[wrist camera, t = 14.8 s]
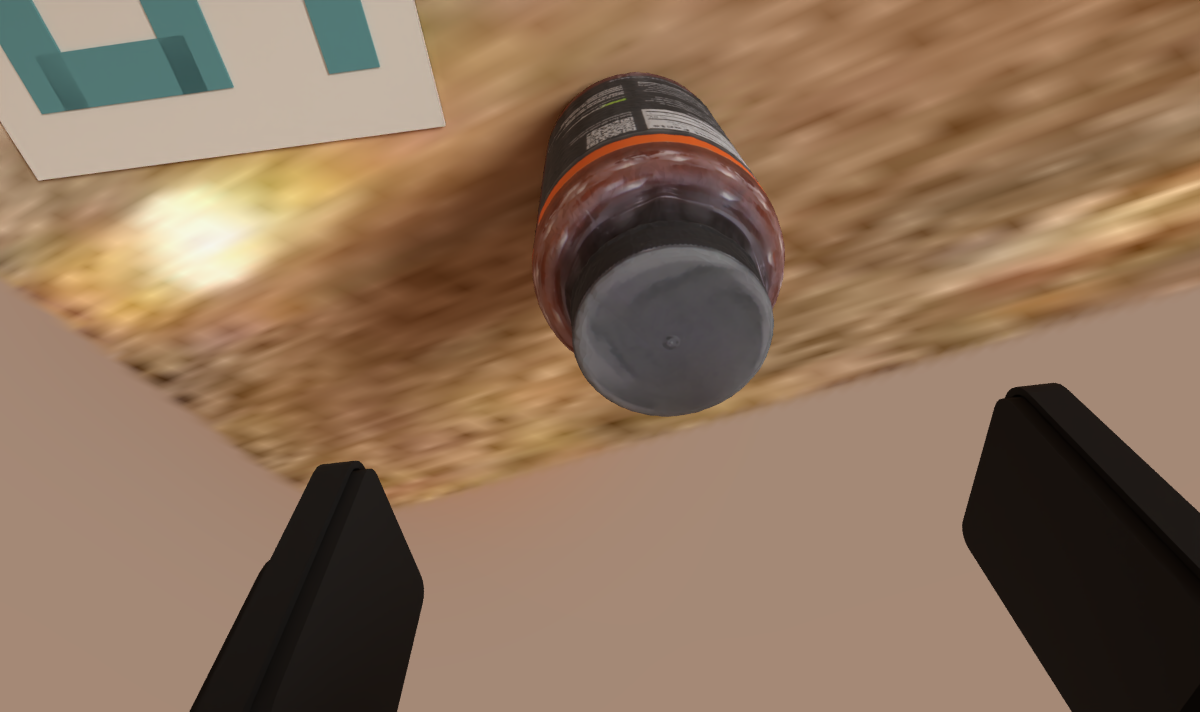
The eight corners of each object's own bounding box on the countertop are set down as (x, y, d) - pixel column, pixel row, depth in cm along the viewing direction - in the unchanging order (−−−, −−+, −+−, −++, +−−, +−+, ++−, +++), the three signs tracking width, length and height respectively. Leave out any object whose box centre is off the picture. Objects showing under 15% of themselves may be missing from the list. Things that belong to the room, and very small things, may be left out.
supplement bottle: (642, 271, 24) (678, 494, 15) (511, 176, 22) (457, 368, 13) (757, 145, 22) (889, 321, 12) (621, 23, 19) (655, 124, 10)
